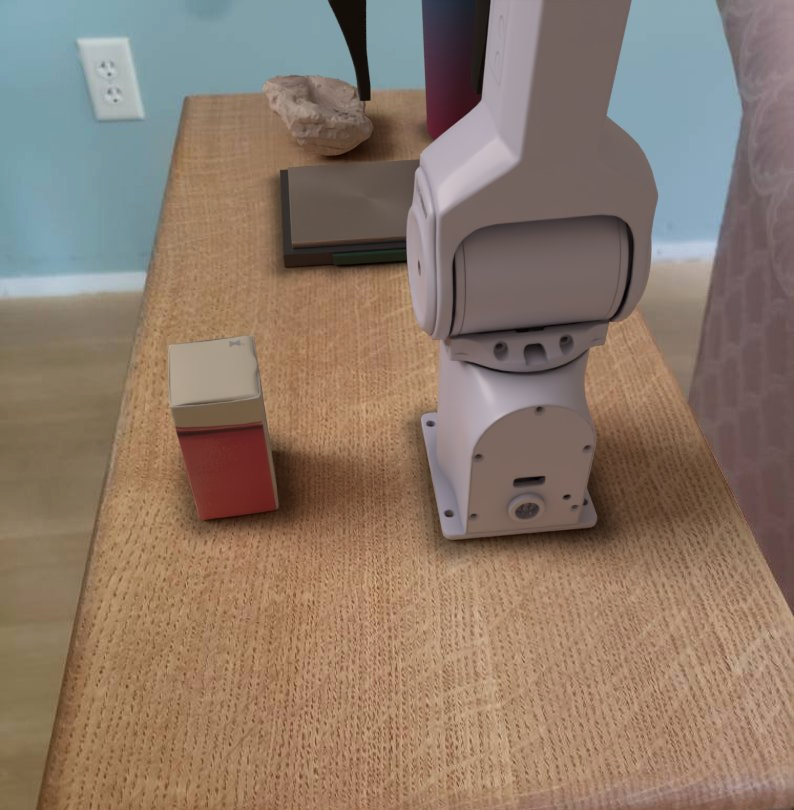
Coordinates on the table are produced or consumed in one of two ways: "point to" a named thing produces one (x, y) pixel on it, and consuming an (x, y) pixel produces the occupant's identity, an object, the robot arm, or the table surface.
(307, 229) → the scale
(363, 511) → the table surface
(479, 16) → the robot arm
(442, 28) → the cup
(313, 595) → the table surface
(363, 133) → the fossil
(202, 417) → the small box
